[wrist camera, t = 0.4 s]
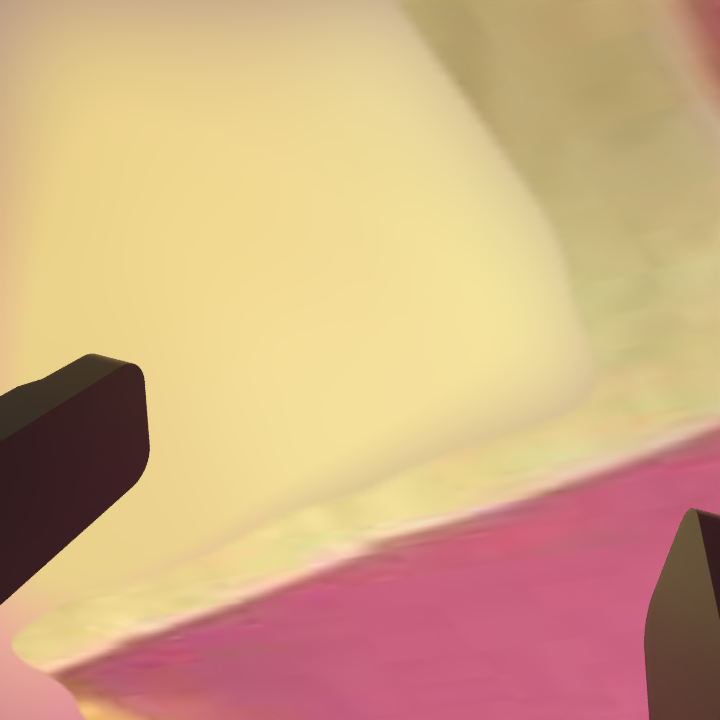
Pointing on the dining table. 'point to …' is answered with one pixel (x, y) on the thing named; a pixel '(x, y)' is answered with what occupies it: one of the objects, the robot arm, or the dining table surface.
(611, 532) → the dining table surface
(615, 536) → the dining table surface
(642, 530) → the dining table surface
